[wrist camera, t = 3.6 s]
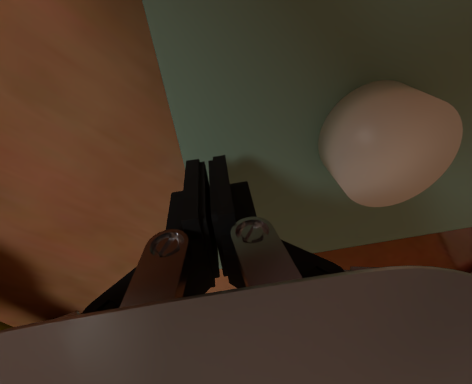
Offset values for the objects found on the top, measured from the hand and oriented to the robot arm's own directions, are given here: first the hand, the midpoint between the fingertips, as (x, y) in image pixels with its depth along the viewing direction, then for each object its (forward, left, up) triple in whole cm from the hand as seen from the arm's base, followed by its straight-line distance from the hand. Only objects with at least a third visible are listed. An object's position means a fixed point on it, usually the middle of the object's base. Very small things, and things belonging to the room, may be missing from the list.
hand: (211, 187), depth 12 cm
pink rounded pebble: (-1, +8, -2) cm, 8 cm away
